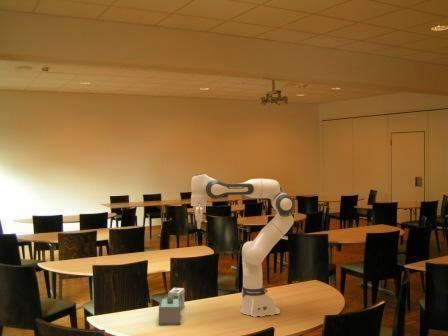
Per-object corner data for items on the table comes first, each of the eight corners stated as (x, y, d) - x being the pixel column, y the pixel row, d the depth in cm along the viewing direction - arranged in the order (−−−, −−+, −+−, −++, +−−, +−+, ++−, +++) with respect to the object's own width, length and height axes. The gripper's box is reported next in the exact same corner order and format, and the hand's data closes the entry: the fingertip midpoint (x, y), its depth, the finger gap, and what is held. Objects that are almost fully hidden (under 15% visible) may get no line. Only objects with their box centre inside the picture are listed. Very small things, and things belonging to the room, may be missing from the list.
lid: (178, 301, 249) (179, 292, 249) (178, 308, 236) (178, 299, 236) (162, 301, 249) (162, 292, 249) (160, 309, 236) (160, 300, 236)
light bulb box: (179, 312, 256) (179, 293, 256) (167, 311, 257) (168, 292, 257) (184, 306, 266) (184, 287, 266) (173, 305, 268) (173, 287, 268)
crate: (180, 315, 250) (180, 298, 250) (180, 324, 236) (180, 307, 235) (160, 315, 250) (160, 298, 250) (158, 325, 235) (158, 307, 235)
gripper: (205, 204, 244) (205, 230, 244) (203, 201, 264) (203, 224, 265) (193, 204, 243) (193, 230, 244) (192, 201, 264) (192, 225, 264)
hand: (198, 227), depth 254 cm, fingers open, 8 cm apart
